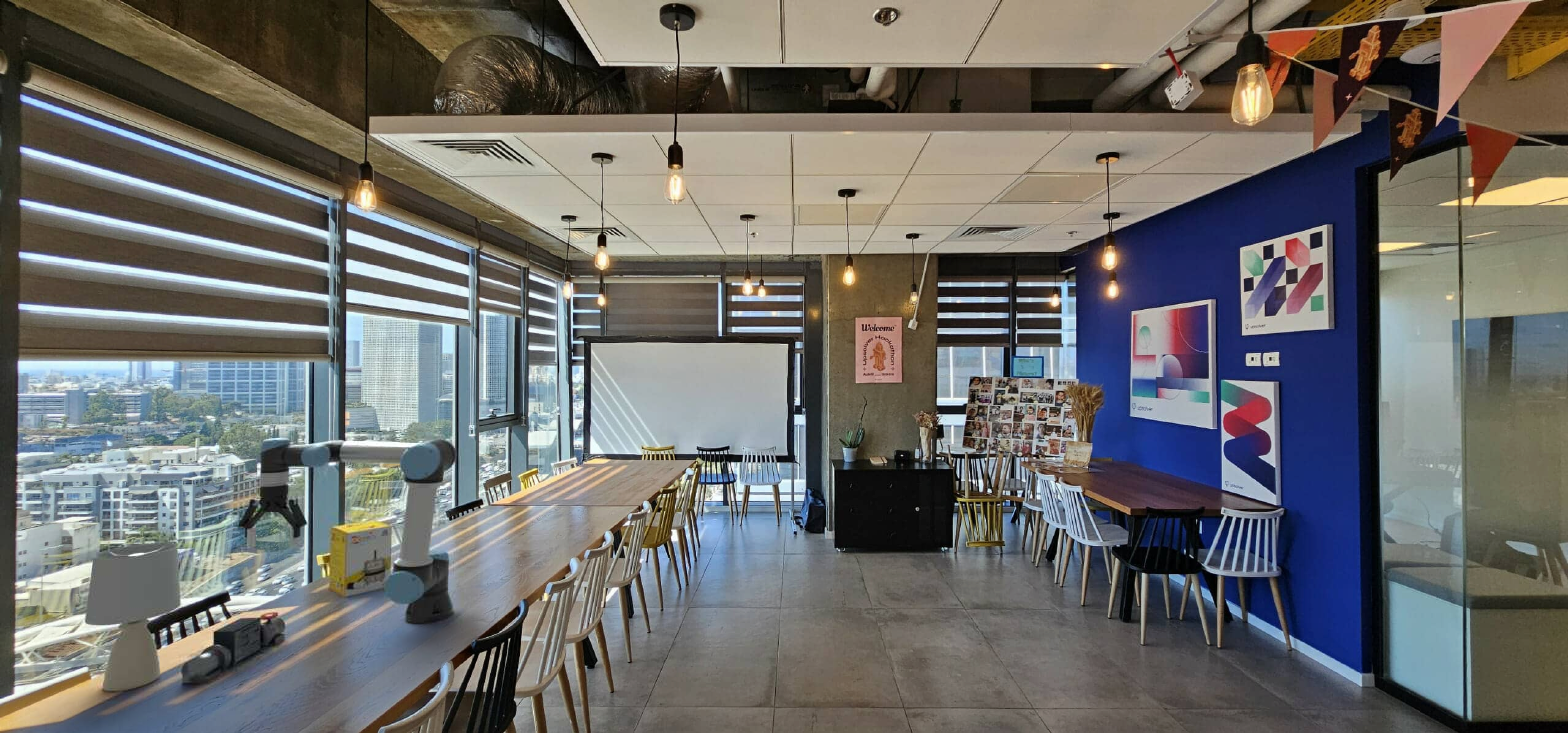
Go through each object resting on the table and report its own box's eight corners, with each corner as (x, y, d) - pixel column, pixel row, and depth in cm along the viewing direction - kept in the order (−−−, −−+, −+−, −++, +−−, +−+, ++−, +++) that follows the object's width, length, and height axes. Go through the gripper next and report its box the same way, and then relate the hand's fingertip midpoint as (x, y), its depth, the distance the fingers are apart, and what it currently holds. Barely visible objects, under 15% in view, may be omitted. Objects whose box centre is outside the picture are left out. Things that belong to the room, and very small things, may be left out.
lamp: (135, 666, 184) (140, 541, 184) (196, 668, 183) (200, 542, 184) (60, 698, 165) (65, 559, 166) (127, 700, 164) (132, 560, 165)
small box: (239, 651, 193) (240, 617, 193) (261, 650, 194) (262, 616, 194) (210, 666, 183) (212, 630, 183) (234, 666, 183) (235, 630, 183)
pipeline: (257, 639, 203) (258, 611, 203) (292, 638, 204) (293, 611, 204) (171, 685, 172) (172, 653, 173) (213, 685, 173) (214, 652, 173)
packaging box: (373, 578, 265) (375, 520, 266) (390, 586, 256) (391, 525, 256) (328, 588, 252) (330, 527, 253) (344, 597, 242) (346, 533, 243)
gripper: (320, 482, 213) (318, 544, 213) (244, 482, 212) (242, 544, 211) (305, 486, 206) (303, 550, 206) (226, 486, 204) (223, 550, 204)
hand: (272, 547), depth 208 cm, fingers open, 13 cm apart
